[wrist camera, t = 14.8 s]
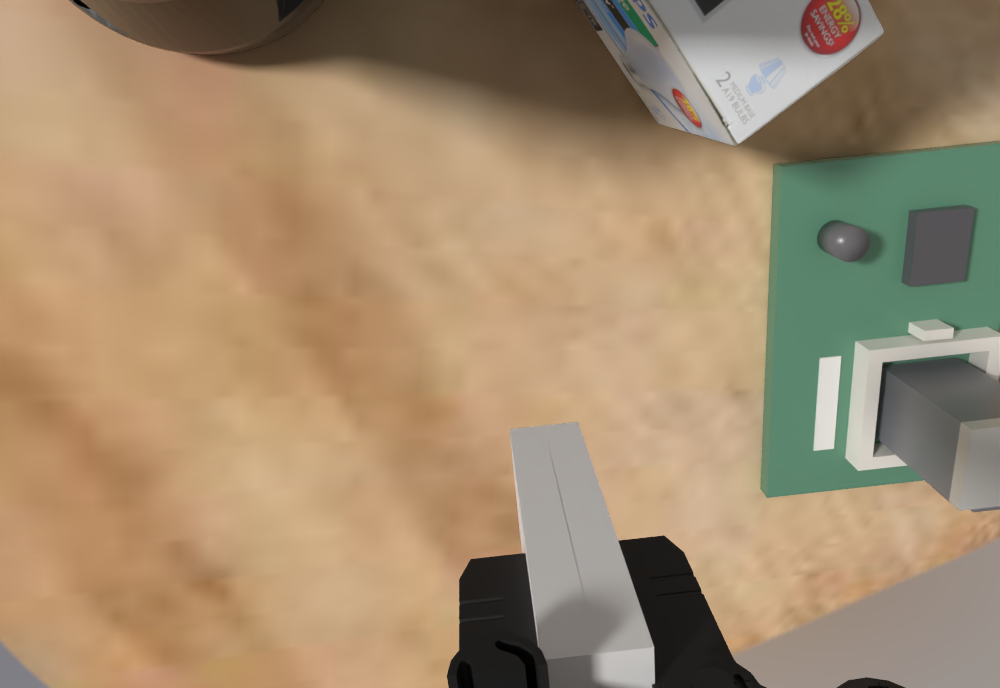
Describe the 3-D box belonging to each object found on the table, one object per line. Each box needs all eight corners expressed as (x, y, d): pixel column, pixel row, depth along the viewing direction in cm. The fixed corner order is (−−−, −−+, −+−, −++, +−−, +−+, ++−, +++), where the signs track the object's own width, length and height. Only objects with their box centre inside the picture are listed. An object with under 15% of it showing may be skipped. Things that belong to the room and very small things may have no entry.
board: (773, 164, 38) (798, 171, 35) (1015, 138, 38) (1059, 144, 35) (760, 488, 45) (780, 516, 42) (964, 466, 45) (997, 492, 43)
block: (879, 365, 41) (972, 430, 34) (956, 357, 42) (1065, 419, 34) (871, 446, 43) (956, 524, 36) (944, 438, 43) (1045, 514, 36)
